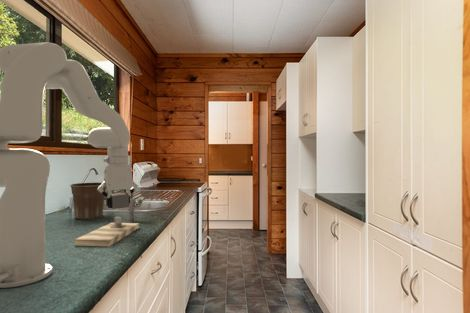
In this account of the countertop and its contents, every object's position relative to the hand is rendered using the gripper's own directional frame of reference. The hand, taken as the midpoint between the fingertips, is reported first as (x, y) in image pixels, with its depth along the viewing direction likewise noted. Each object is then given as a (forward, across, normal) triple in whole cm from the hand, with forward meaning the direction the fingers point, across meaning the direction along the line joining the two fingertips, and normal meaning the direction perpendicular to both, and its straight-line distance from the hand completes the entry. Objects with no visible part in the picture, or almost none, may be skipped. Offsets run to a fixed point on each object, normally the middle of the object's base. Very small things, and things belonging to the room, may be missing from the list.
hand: (118, 206), depth 115 cm
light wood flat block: (+10, -5, -5) cm, 12 cm away
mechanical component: (+10, +11, +15) cm, 21 cm away
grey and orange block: (0, 0, 0) cm, 0 cm away
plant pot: (+10, -2, +36) cm, 38 cm away
